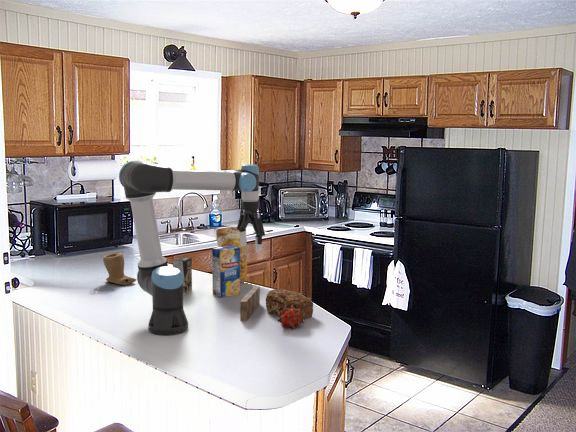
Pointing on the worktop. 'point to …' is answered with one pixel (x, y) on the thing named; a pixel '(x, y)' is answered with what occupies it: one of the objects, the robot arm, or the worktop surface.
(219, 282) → the beverage box
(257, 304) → the walnut board
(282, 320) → the dragon fruit
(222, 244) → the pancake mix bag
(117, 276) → the tan boot figurine
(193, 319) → the worktop surface
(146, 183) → the robot arm
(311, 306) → the bread
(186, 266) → the coffee box
